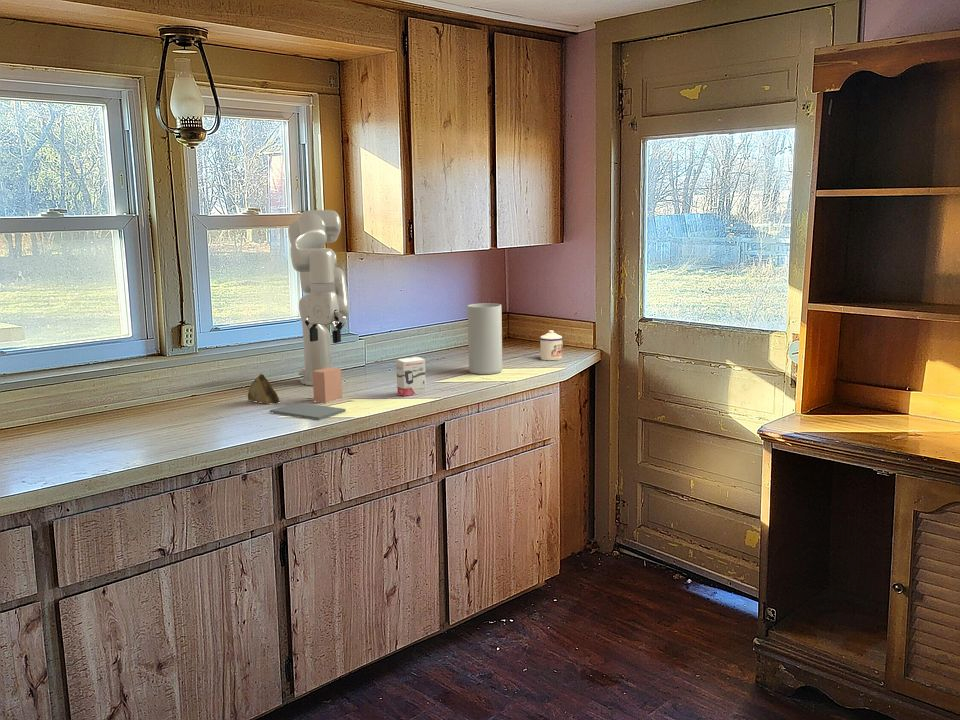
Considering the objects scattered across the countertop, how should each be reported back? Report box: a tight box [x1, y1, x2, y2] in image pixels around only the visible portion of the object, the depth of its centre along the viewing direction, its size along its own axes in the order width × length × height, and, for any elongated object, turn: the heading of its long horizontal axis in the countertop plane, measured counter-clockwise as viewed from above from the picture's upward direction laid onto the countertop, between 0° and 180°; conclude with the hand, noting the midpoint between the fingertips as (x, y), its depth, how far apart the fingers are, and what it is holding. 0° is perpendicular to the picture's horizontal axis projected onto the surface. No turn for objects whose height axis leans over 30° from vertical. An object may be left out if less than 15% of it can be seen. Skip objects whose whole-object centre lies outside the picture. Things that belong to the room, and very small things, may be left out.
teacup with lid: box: [539, 329, 564, 361], centre depth 348 cm, size 12×9×12 cm
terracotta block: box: [312, 366, 343, 404], centre depth 281 cm, size 5×8×10 cm, turn 148°
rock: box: [247, 373, 281, 405], centre depth 280 cm, size 11×9×10 cm
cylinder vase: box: [467, 302, 503, 375], centre depth 322 cm, size 12×12×25 cm
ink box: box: [395, 356, 427, 397], centre depth 287 cm, size 8×5×12 cm, turn 123°
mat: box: [269, 401, 347, 421], centre depth 265 cm, size 20×12×1 cm, turn 58°
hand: (325, 341), depth 278 cm, fingers open, 9 cm apart
